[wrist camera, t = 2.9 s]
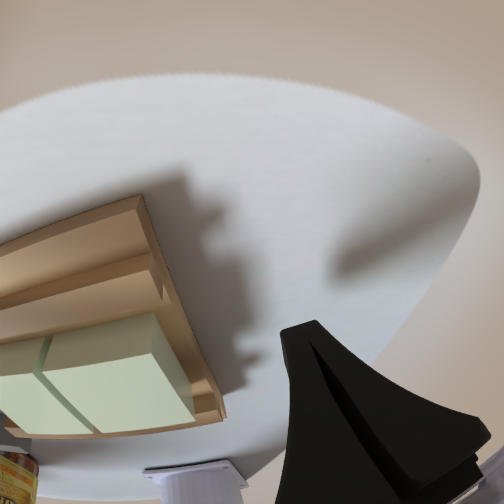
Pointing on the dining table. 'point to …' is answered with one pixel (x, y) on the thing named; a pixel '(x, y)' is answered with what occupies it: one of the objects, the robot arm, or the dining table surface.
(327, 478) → the robot arm
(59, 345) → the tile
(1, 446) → the box
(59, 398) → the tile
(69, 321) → the board
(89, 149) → the dining table surface
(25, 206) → the dining table surface
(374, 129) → the dining table surface
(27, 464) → the sauce bottle
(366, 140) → the dining table surface
